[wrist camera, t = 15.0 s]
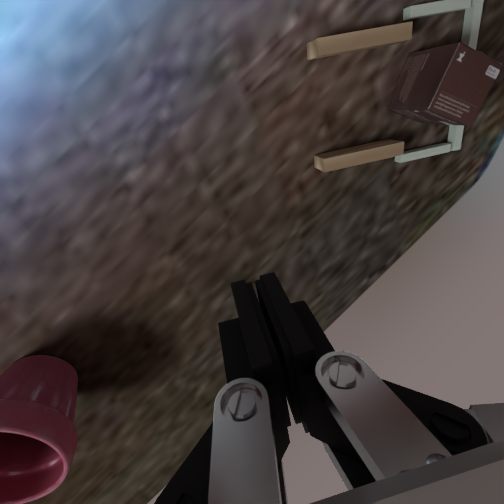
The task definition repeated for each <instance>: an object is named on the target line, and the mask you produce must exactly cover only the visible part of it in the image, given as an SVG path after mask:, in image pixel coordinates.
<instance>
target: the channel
mask: <svg viewBox="0 0 504 504" xmlns="http://www.w3.org/2000/svg"><path fill="white" fill-rule="evenodd" d="M412 24H413V21H411V22H406V23H400V24H395V25H389V26H383V27H378V28H372V29H366V30H361V31H355V32H349V33H344V34H338V35H333V36H327V37H321V38H317V39H315V40H313V41H311V42H309V43H307V57H308V60H312V59H317V58H322V57H328V56H333V55H339V54H344V53H350V52H355V51H360V50H366V49H371V48H377V47H382V46H388V45H393V44H397V43H400V42H404V41H407V40H411V38H412ZM403 152H404V141H398V140H393V139H386V140H381V141H377V142H372V143H368V144H363V145H358V146H354V147H349V148H345V149H340V150H336V151H331V152H326V153H322V154H317V155H314V162H315V168H317V169H319V170H321V171H323V172H328V171H332V170H337V169H341V168H346V167H350V166H355V165H359V164H364V163H368V162H373V161H377V160H381V159H386V158H390V157H395V156H399V155H403Z"/></svg>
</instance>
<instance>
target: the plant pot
mask: <svg viewBox="0 0 504 504" xmlns="http://www.w3.org/2000/svg"><path fill="white" fill-rule="evenodd" d="M77 386H78V375H77V372H76V370H75V369H74V368H73V366H72V365H70V364H69V363H68V362H66V361H64V360H62V359H60V358H57V357H53V356H48V355H33V356H28V357H24V358H22V359H19V360H17V361H16V362H14V363H13V364H12V365H11V366H10V367H9V368H8V369H7V370H6V371H5V372H4V373H3V374H2V375H0V504H23V503H26V502H30V501H33V500H36V499H38V498H40V497H43V496H45V495H47V494H48V493H50V492H52V491H53V490H54V489H56V488H57V487H58V486H59V485H60V484H61V483H62V482H63V481H64V479H65V478H66V476H67V474H68V471H69V469H70V466H71V463H72V460H73V457H74V454H75V450H76V447H77V443H78V433H77V429H76V427H75V425H74V417H75V408H76V399H77Z"/></svg>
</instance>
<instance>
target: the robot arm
mask: <svg viewBox="0 0 504 504" xmlns="http://www.w3.org/2000/svg"><path fill="white" fill-rule="evenodd" d="M255 283H256V288H257V294H258V299H259V302H258V299H257V297H256V294H255V291H254V289H253V286H252V283H251V282H249V283H246V282H245V280H241V281H237V282H233V283H230V284H231V288H232V292H233V296H234V300H235V304H236V308H237V312H238V316H239V318H235V319H231V320H228V321H224V322H220V323H218V325H219V332H220V339H221V345H222V352H223V359H224V365H225V372H226V378H227V384H226V385H225V386H224V387H223V388H222V389H221V390H220V392H219V393H218V395H217V397H216V400H215V405H214V418H213V423H212V424H211V425H210V427H209V428H208V429H207V431H206V432H205V434H204V435H203V436H202V438H201V439H200V440H199V442H198V443H197V445H196V446H195V447H194V449H193V450H192V451H191V453H190V454H189V456H188V457H187V458H186V460H185V461H184V462H183V464H182V465H181V466H180V468H179V469H178V471H177V472H176V473H175V475H174V476H173V477H172V479H171V480H170V482H169V483H168V484H167V486H166V487H165V488H164V490H163V491H162V493H161V494H160V496H159V497H158V498H157V500H156V502H155V503H154V504H288V500H287V493H286V485H285V477H284V470H283V462H282V457H283V455H284V453H285V451H286V449H287V447H288V445H289V443H290V440H289V434H288V429H287V427H288V426H291V422H290V417H289V411H288V405H287V400H288V403H289V406H290V409H291V412H292V414H293V417H294V420H295V423H296V424H298V423H301V422H302V424H303V427H304V430H305V432H306V433H308V432H310V435H311V436H312V437H315V438H316V439H318V440H320V441H322V443H323V445H324V448H325V450H326V452H327V453H328V455H329V457H330V459H331V460H332V462H333V464H334V466H335V468H336V469H337V471H338V473H339V475H340V476H341V478H342V480H343V481H344V483H345V485H346V487H347V488H348V490H349V491H346V492H343V493H340V494H337V495H334V496H331V497H329V498H325V499H323V500H320V501H317V502H314V503H311V504H504V403H495V404H479V405H470V408H469V409H462V408H460V407H457V406H455V405H453V404H451V403H448V402H445V401H442V400H439V399H437V398H434V397H431V396H428V395H425V394H423V393H420V392H416V391H414V390H411V389H408V388H405V387H403V386H400V385H397V384H394V383H391V382H389V381H386V380H382V379H381V378H380V377H379V376H378V375H377V374H376V373H375V372H374V371H373V370H372V369H371V368H370V367H369V366H368V365H367V363H366V362H365V361H364V360H362V359H361V358H360V357H359V356H357V355H355V354H353V353H350V352H346V351H335V350H334V349H333V347H332V345H331V344H330V342H329V341H328V339H327V337H326V335H325V334H324V332H323V330H322V329H321V327H320V325H319V324H318V322H317V320H316V319H315V317H314V316H313V314H312V312H311V311H310V309H309V307H308V306H307V304H306V303H305V301H299V302H295V303H290V301H289V299H288V297H287V296H286V294H285V292H284V290H283V288H282V286H281V284H280V282H279V280H278V278H277V277H276V275H275V273H274V272H272V273H268V274H264V275H260V280H256V281H255ZM259 304H260V305H259ZM286 397H287V400H286Z"/></svg>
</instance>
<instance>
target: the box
mask: <svg viewBox="0 0 504 504" xmlns="http://www.w3.org/2000/svg"><path fill="white" fill-rule="evenodd" d="M501 67H502V64H501V63H499V62H497V61H496V60H493V59H491V58H490V57H488V56H486V55H485V54H484V53H483V52H480V51H476V50H474V49H473V48H471V47H469V46H467V45H466V44H463V43H462V42H459V43H455V44H449V45H445V46H440V47H435V48H430V49H426V50H422V51H417V52H412V53H409V55H408V57H407V59H406V62H405V64H404V66H403V69H402V71H401V74H400V76H399V79H398V81H397V83H396V86H395V88H394V90H393V93H392V95H391V97H390V100H389V102H388V105H387V109H389V110H391V111H394V112H396V113H398V114H401V115H403V116H406V117H408V118H411V119H413V120H416V121H418V122H421V123H431V124H446V125H462V126H471V124H472V122H473V121H474V119H475V117H476V115H477V113H478V111H479V109H480V107H481V105H482V104H483V102H484V100H485V98H486V96H487V94H488V92H489V90H490V89H491V87H492V85H493V83H494V81H495V79H496V78H497V76H498V74H499V72H500V69H501Z"/></svg>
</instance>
